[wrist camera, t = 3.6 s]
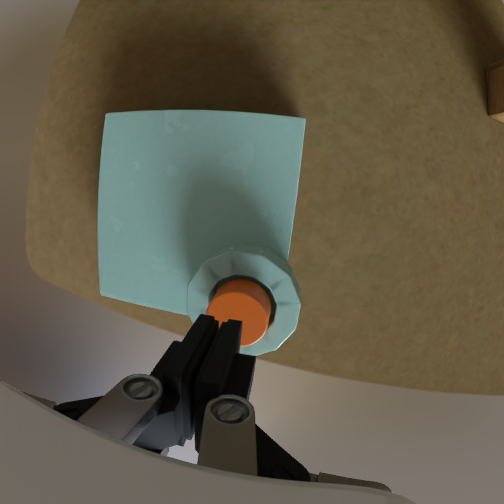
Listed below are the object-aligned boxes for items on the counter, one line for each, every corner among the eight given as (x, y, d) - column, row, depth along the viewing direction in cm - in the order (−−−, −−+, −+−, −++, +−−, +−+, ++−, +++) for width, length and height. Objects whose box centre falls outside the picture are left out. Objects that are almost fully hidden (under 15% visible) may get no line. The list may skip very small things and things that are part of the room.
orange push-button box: (317, 132, 18) (327, 113, 12) (291, 316, 21) (288, 363, 16) (136, 121, 19) (88, 108, 14) (129, 287, 23) (86, 318, 17)
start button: (274, 283, 15) (272, 296, 13) (266, 334, 16) (263, 351, 14) (216, 274, 15) (207, 286, 14) (212, 325, 16) (204, 341, 14)
